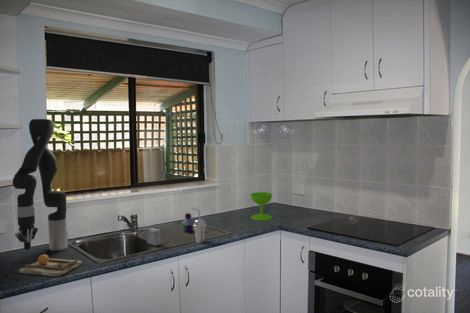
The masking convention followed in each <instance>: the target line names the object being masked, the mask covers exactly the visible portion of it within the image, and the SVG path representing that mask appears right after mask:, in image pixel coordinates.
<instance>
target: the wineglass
mask: <svg viewBox="0 0 470 313" xmlns="http://www.w3.org/2000/svg"><path fill="white" fill-rule="evenodd" d="M272 197H273V193H271V192H263V191H260V192H259V191H258V192H257V191H256V192H252V193H250V198H251V200H252V201H253V202H254V203H255V204H257V205H259V213H258V214H253V215H251V216H250V218H251V220H255V221H267V220H272V219H273V216H271V215H270V214H264V213H263V212H264V207H263V206H264V205H266V204H268V203H269V202H270V201H271V200H272Z"/></svg>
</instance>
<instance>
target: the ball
mask: <svg viewBox="0 0 470 313" xmlns="http://www.w3.org/2000/svg"><path fill="white" fill-rule="evenodd" d="M49 258H50V257H49V255H48V254H41V255H39V256H38V257H37V261H38V263H39V264H41V265H45V264H47V263H48V261H49Z"/></svg>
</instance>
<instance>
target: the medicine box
mask: <svg viewBox="0 0 470 313" xmlns="http://www.w3.org/2000/svg"><path fill="white" fill-rule="evenodd" d="M161 236H162V235H161V229H159V228H153V227H151V228H147V229H146V243H147V244H148V245H151V246H159V245H161V244H162V238H161Z"/></svg>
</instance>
